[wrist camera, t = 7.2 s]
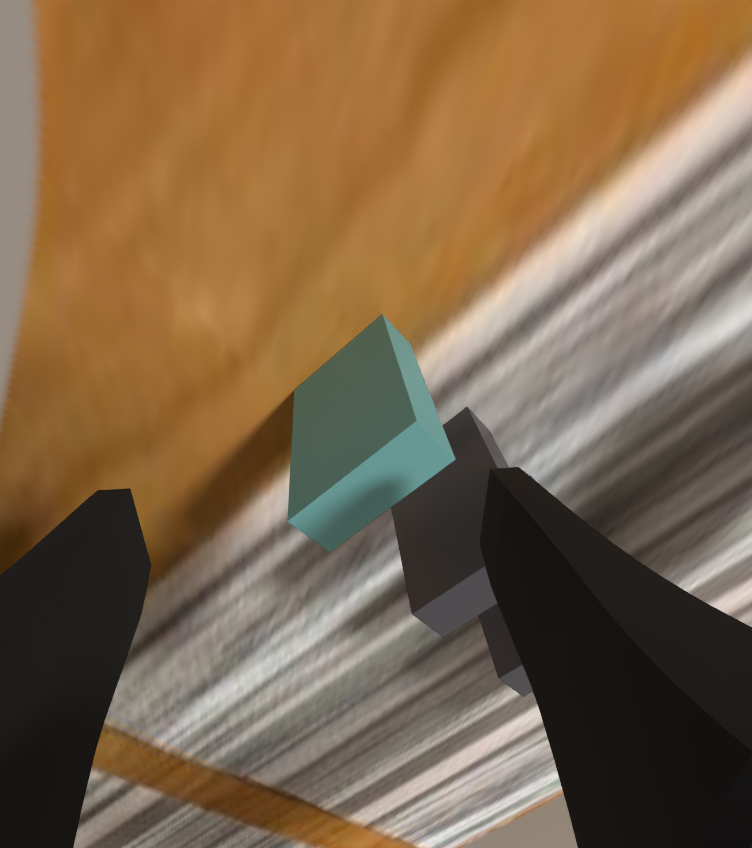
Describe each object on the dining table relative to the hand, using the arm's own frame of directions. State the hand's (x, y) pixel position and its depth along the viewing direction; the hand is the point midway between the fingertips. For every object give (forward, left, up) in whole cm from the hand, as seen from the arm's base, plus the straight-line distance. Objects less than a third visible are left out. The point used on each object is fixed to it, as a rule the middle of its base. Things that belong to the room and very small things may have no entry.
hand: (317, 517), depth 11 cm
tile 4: (-6, +4, -10) cm, 12 cm away
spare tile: (-2, +1, -10) cm, 10 cm away
